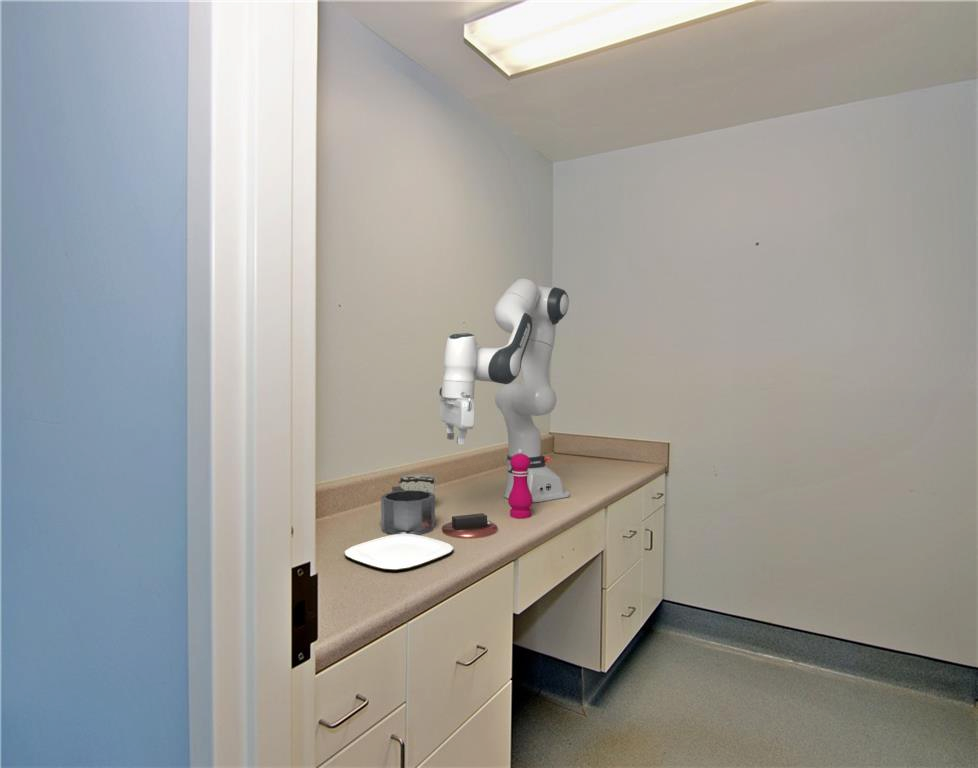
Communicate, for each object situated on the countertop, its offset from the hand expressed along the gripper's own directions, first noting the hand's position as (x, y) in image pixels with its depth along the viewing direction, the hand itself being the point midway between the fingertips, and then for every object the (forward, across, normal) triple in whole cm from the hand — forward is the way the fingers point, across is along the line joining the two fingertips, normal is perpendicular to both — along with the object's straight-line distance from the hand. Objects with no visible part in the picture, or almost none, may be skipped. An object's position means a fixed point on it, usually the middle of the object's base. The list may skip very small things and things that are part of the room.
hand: (455, 441), depth 154 cm
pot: (+24, +6, +11) cm, 28 cm away
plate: (+25, -18, +18) cm, 35 cm away
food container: (+25, +25, +3) cm, 35 cm away
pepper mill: (+22, +3, -23) cm, 32 cm away
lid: (+24, -5, -4) cm, 25 cm away
